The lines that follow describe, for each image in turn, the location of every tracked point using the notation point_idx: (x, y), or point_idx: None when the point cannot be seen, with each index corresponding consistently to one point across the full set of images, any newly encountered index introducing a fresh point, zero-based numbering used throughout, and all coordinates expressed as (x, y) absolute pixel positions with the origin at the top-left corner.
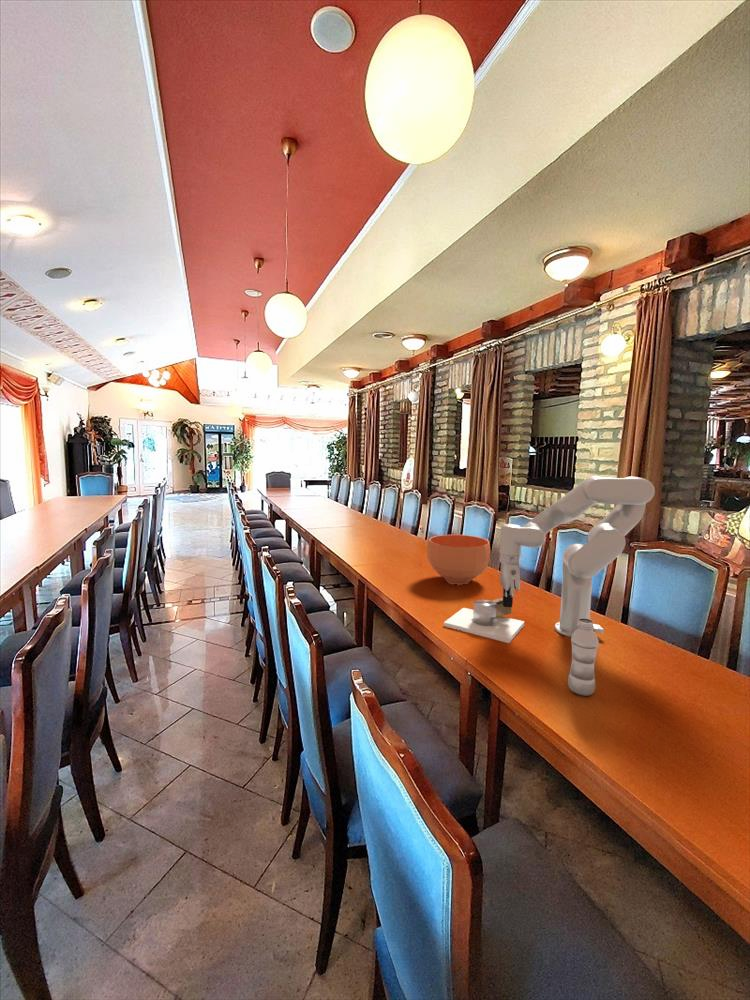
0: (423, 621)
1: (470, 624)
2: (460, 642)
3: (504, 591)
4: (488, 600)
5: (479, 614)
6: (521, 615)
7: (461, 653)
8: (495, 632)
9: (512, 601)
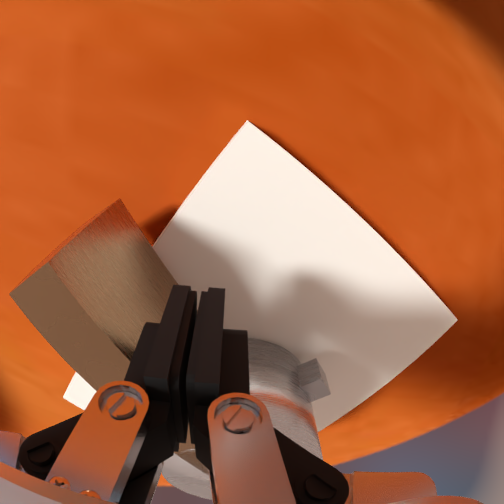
0: None
1: None
2: (374, 437)
3: (154, 488)
4: (172, 458)
5: None
6: (63, 85)
7: (429, 430)
8: (382, 361)
9: (222, 330)
